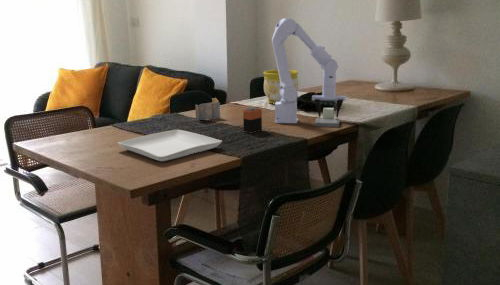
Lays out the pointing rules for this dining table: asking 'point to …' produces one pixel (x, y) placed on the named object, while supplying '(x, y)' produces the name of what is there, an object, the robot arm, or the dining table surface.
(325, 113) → the block
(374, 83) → the dining table surface
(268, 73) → the flowerpot
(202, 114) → the ruin model on sheet
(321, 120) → the trivet
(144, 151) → the square plate
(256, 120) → the battery
